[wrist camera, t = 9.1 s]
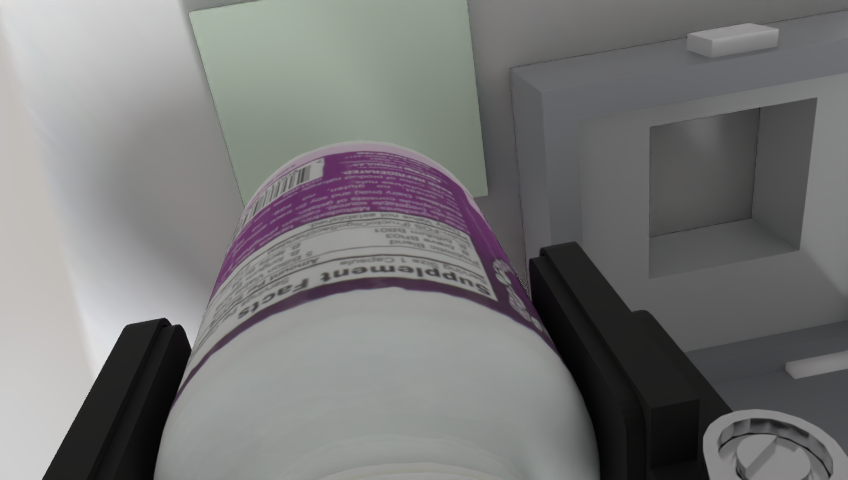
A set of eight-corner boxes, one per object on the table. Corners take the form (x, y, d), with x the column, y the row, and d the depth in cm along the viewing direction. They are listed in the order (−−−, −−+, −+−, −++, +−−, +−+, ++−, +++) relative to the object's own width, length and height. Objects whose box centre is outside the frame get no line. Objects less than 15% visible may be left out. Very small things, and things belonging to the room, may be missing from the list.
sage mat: (460, -34, 24) (463, -33, 24) (485, 190, 28) (488, 195, 28) (191, 11, 24) (188, 13, 23) (254, 232, 28) (253, 238, 27)
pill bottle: (484, 346, 15) (681, 883, 7) (254, 369, 15) (140, 983, 6) (486, 120, 13) (788, 490, 4) (213, 138, 13) (-60, 599, 4)
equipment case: (868, -10, 27) (1766, 81, 10) (822, 314, 33) (1309, 692, 17) (508, 52, 26) (820, 262, 9) (535, 370, 33) (744, 824, 16)
